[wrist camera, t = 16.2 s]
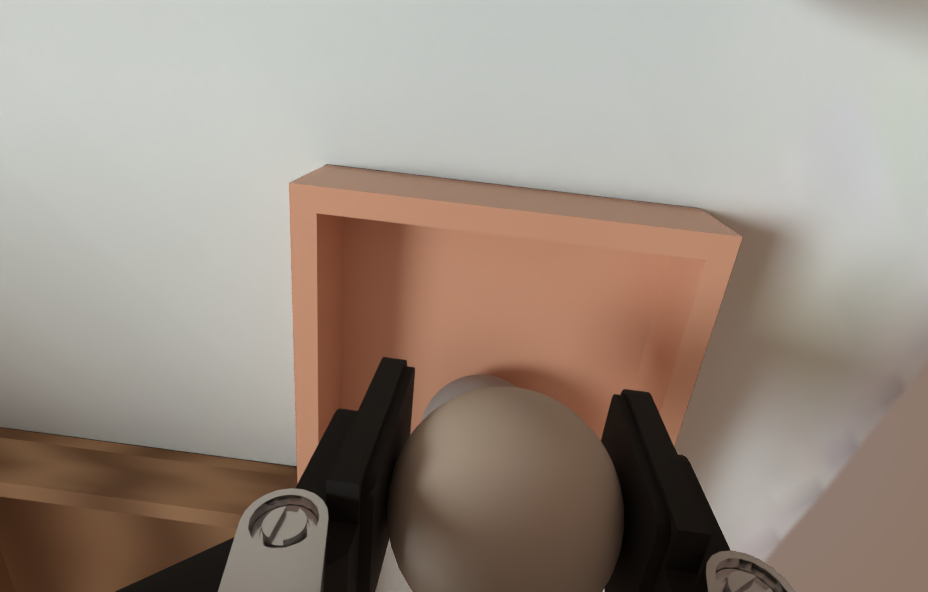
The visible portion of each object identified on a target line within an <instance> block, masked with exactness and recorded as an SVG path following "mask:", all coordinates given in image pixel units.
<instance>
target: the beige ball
mask: <svg viewBox="0 0 928 592" xmlns="http://www.w3.org/2000/svg"><path fill="white" fill-rule="evenodd" d="M387 525H388V531H389V537H390V542H391V547H392V550H393V553H394V555H395V558H396V561H397V564H398V566H399V569H400V571H401V572H402V574H403V576H404V578H405V579H406V581H407V583H408V585H409V586H410V588H411V590H412V591H413V592H602V591H603V589H604V588H605V586H606V584H607V583H608V581H609V579H610V578H611V576H612V573H613V571H614V568H615V566H616V563H617V560H618V558H619V554H620V550H621V545H622V539H623V533H624V504H623V497H622V491H621V486H620V482H619V479H618V476H617V473H616V470H615V467H614V465H613V462H612V460H611V458H610V456H609V454H608V452H607V450H606V449H605V447H604V445H603V444H602V442H601V441H600V439H599V438H598V436H597V435H596V434H595V432H594V431H593V430H592V429H591V428H590V427H589V426H588V425H587V424H586V423H585V422H584V421H583V420H582V419H581V418H580V417H579V416H578V415H577V414H576V413H575V412H573V411H572V410H571V409H569V408H568V407H566V406H565V405H563V404H561V403H560V402H558V401H556V400H555V399H553V398H551V397H548V396H546V395H544V394H542V393H538V392H535V391H532V390H528V389H523V388H517V387H504V386H503V387H488V388H481V389H476V390H473V391H469V392H466V393H463V394H461V395H459V396H456V397H454V398H452V399H451V400H449V401H447V402H445V403H444V404H442V405H440V406H439V407H438V408H436V409H435V410H434V411H432V412H431V413H430V414H429V415H428V416H427V417H426V418H425V419H424V420H423V421H422V422H421V423H420V424H419V425H418V426H417V427H416V428H415V429H414V431H413V432H412V434H411V435H410V436H409V438H408V439H407V441H406V443H405V444H404V446H403V448H402V450H401V452H400V454H399V455H398V458H397V461H396V463H395V466H394V469H393V472H392V477H391V481H390V485H389V491H388V500H387Z"/></svg>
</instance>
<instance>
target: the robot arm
mask: <svg viewBox="0 0 928 592" xmlns="http://www.w3.org/2000/svg"><path fill="white" fill-rule="evenodd" d="M414 379H415V367H409V366H407V360H403V359H396V358H388V357H383V358H382V359H381V361H380V364H379V366H378V368H377V370H376V372H375V374H374V377H373V379H372V381H371V383H370V385H369V388H368V390H367V392H366V394H365V396H364V398H363V401H362V403H361V405H360V407H359V409H358V411H355V410H348V409H341V408H339V409H337V410H336V412H335V413H334V415H333V417H332V419H331V421H330V423H329V425H328V427H327V429H326V431H325V432H324V434H323V436H322V438H321V440H320V442H319V444H318V446H317V448H316V450H315V452H314V453H313V455H312V457H311V459H310V461H309V463H308V465H307V467H306V469H305V471H304V473H303V474H302V476H301V478H300V480H299V482H298V484H297V486H296V488H295V489H293V488H290V489H282V490H277V491H274V492H271V493H268V494H266V495H264V496H262V497H261V498H259V499H257V500H256V501H254V502H253V503H252V504H251V505H250V506H249V507H248V508H247V509H246V510H245V511H244V513H243V515H242V517H241V519H240V521H239V524H238V527H237V531H236V534H235V537H233V538H231V539H229V540H227V541H225V542H222V543H220V544H218V545H216V546H214V547H211V548H209V549H207V550H205V551H203V552H201V553H198V554H196V555H194V556H192V557H190V558H187V559H185V560H183V561H181V562H179V563H176V564H174V565H172V566H170V567H168V568H165V569H163V570H161V571H159V572H157V573H155V574H152V575H150V576H148V577H146V578H144V579H141V580H139V581H137V582H135V583H133V584H130V585H128V586H126V587H124V588H122V589H119V590H117V591H115V592H375V590H376V586H377V583H378V579H379V575H380V571H381V567H382V564H383V560H384V556H385V552H386V548H387V545H388V541H389V531H388V525H387V500H388V491H389V485H390V481H391V477H392V472H393V469H394V466H395V463H396V461H397V458H398V455H399V454H400V452H401V450H402V448H403V446H404V444H405V443H406V441H407V439H408V438H409V436H410V431H411V418H412V405H413V392H414ZM601 442H602V444H603V445H604V447H605V449H606V450H607V452H608V454H609V456H610V458H611V460H612V462H613V465H614V467H615V470H616V473H617V476H618V479H619V482H620V486H621V491H622V497H623V504H624V533H623V539H622V545H621V550H620V554H619V558H618V560H617V563H616V566H615V568H614V571H613V573H612V576H611V578H610V579H609V581H608V583H607V584H606V586H605V592H796V591H795V590H794V589H793V588H792V586H791V585H790V584H789V582H788V581H787V580H786V579H785V578H784V577H783V576H782V575H781V574H780V573H778V572H777V571H776V570H775V569H774V568H773V567H771V566H769V565H768V564H766V563H765V562H763V561H761V560H760V559H758V558H755V557H753V556H750V555H748V554H746V553H741V552H736V551H730V548H729V546H728V544H727V542H726V540H725V538H724V535H723V533H722V531H721V529H720V527H719V525H718V523H717V520H716V518H715V516H714V514H713V512H712V510H711V507H710V505H709V503H708V501H707V499H706V497H705V494H704V492H703V490H702V488H701V486H700V484H699V481H698V479H697V477H696V475H695V473H694V471H693V468H692V466H691V464H690V462H689V461H688V459H687V458H686V457H685V456H683V455H678V454H677V452H676V450H675V448H674V445H673V443H672V441H671V439H670V436H669V434H668V432H667V429H666V427H665V425H664V423H663V420H662V418H661V416H660V414H659V411H658V409H657V407H656V404H655V402H654V400H653V398H652V395H651V394H650V393H649V392H644V391H636V390H629V389H623V390H622V392H621V394H620V395H618V394H614V395H613V396H612V399H611V403H610V407H609V410H608V414H607V418H606V422H605V426H604V430H603V434H602V438H601Z"/></svg>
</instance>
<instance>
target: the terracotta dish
mask: <svg viewBox="0 0 928 592" xmlns="http://www.w3.org/2000/svg"><path fill="white" fill-rule="evenodd" d="M289 199H290V234H291V270H292V305H293V341H294V376H295V412H296V447H297V483H298V482H299V480H300V478H301V476H302V474H303V473H304V471H305V469H306V467H307V465H308V463H309V461H310V459H311V457H312V455H313V453H314V452H315V450H316V448H317V446H318V444H319V442H320V440H321V438H322V436H323V434H324V432H325V431H326V429H327V427H328V425H329V423H330V421H331V419H332V417H333V415H334V413H335V412H336V410H337V409H339V408H341V409H348V410H355V411H358V409H359V407H360V405H361V403H362V401H363V398H364V396H365V394H366V392H367V390H368V388H369V385H370V383H371V381H372V379H373V377H374V374H375V372H376V370H377V368H378V366H379V364H380V361H381V359H382V358H383V357H388V358H396V359H403V360H407V366H409V367H415V379H414V392H413V405H412V418H411V431H410V435H411V434H412V432H413V431H414V429H415V428H416V427H417V426H418V425H419V424H420V423H421V420H422V417H423V414H424V411H425V410H426V408H427V406H428V404H429V402H430V401H431V399H432V398H433V397H434V396H435V395H436V394H437V393H438V392H439V391H440V389H442V388H443V387H444V386H445V385H447V384H449V383H450V382H452V381H454V380H456V379H459V378H461V377H465V376H469V375H478V374H481V375H491V376H495V377H499V378H501V379H504V380H506V381H508V382H510V383H511V384H513V385H515V386H516V387H517V388H523V389H528V390H532V391H535V392H538V393H542V394H544V395H546V396H548V397H551V398H553V399H555V400H556V401H558V402H560V403H561V404H563V405H565V406H566V407H568V408H569V409H571V410H572V411H573V412H575V413H576V414H577V415H578V416H579V417H580V418H581V419H582V420H583V421H584V422H585V423H586V424H587V425H588V426H589V427H590V428H591V429H592V430H593V431H594V432H595V434H596V435H597V436H598V438H599V439H600V441H601V438H602V434H603V430H604V426H605V422H606V418H607V414H608V410H609V407H610V403H611V399H612V396H613V395H614V394H618V395H620V394H621V392H622V390H623V389H629V390H636V391H644V392H649V393H650V394H651V395H652V398H653V400H654V402H655V404H656V407H657V409H658V411H659V414H660V416H661V418H662V420H663V423H664V425H665V427H666V429H667V432H668V434H669V436H670V439H671V441H672V443H673V445H674V447H675V443H676V440H677V437H678V434H679V431H680V428H681V425H682V422H683V419H684V416H685V413H686V410H687V407H688V404H689V400H690V397H691V394H692V391H693V388H694V385H695V382H696V379H697V376H698V373H699V370H700V367H701V364H702V361H703V357H704V354H705V351H706V348H707V345H708V342H709V339H710V336H711V333H712V330H713V327H714V324H715V321H716V318H717V314H718V311H719V308H720V305H721V302H722V299H723V296H724V293H725V290H726V287H727V284H728V281H729V278H730V274H731V271H732V268H733V265H734V262H735V259H736V256H737V253H738V250H739V247H740V244H741V241H742V238H743V237H742V236H741V235H739V234H738V233H736V232H735V231H733V230H732V229H730V228H729V227H727V226H726V225H724V224H723V223H721V222H720V221H718V220H717V219H715V218H714V217H712V216H711V215H709V214H708V213H706V212H705V211H703V210H702V209H700V208H693V207H685V206H676V205H668V204H659V203H651V202H642V201H634V200H625V199H617V198H608V197H600V196H591V195H583V194H574V193H566V192H557V191H549V190H540V189H532V188H524V187H515V186H507V185H498V184H490V183H481V182H473V181H464V180H456V179H447V178H439V177H430V176H422V175H413V174H405V173H396V172H388V171H379V170H371V169H362V168H354V167H345V166H337V165H328V164H327V165H325V166H323V167H321V168H319V169H316V170H314V171H312V172H310V173H308V174H306V175H304V176H302V177H300V178H298V179H296V180H294V181H292V182H290V183H289Z"/></svg>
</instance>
